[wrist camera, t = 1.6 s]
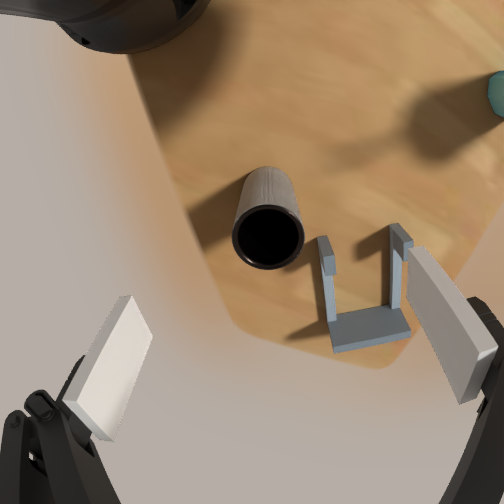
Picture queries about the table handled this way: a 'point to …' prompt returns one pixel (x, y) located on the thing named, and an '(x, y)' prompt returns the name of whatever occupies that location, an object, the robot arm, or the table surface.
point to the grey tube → (268, 221)
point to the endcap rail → (372, 319)
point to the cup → (496, 93)
